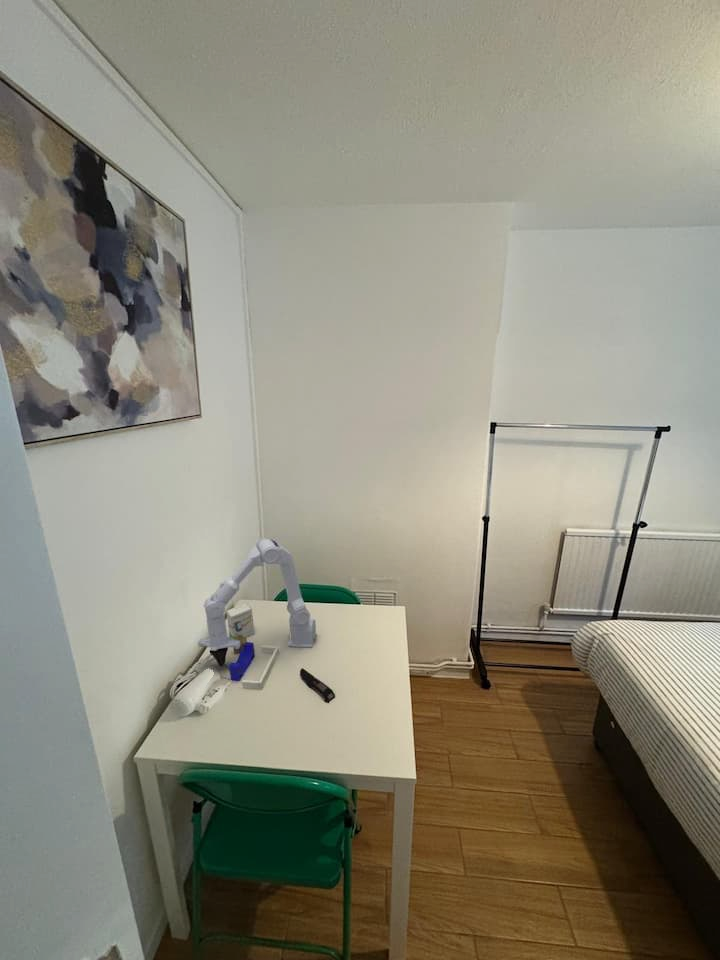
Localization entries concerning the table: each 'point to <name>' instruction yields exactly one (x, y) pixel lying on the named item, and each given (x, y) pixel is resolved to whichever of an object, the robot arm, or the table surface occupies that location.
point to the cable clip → (242, 662)
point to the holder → (260, 683)
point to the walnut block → (242, 642)
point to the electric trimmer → (317, 685)
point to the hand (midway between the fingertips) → (222, 664)
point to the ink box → (240, 621)
